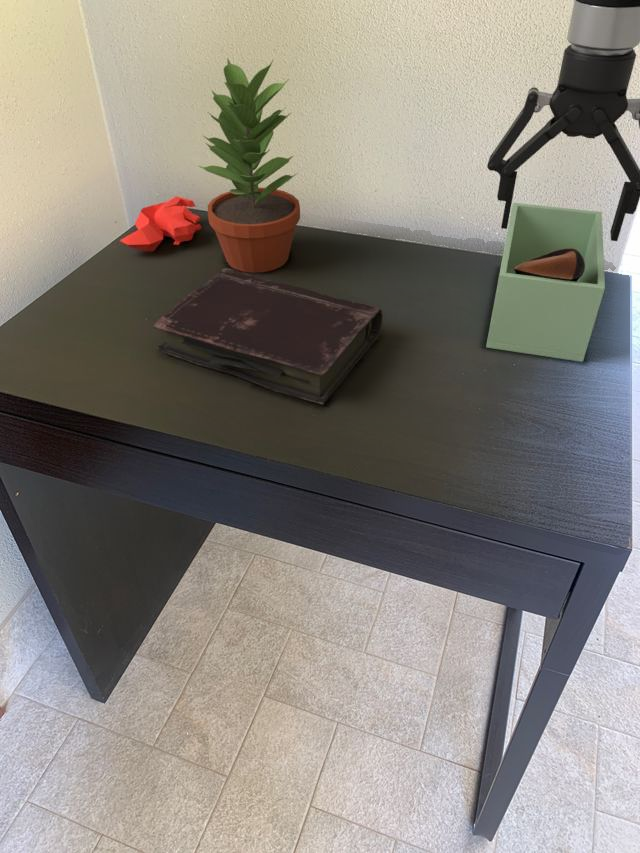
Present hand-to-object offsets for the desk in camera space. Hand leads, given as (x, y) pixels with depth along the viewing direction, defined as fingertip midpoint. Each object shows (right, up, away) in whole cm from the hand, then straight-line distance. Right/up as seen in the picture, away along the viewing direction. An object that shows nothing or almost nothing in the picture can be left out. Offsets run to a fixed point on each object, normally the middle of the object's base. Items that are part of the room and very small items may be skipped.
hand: (558, 230), depth 88 cm
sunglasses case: (0, -6, +4) cm, 8 cm away
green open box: (+1, -9, +11) cm, 14 cm away
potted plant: (-42, +2, +24) cm, 48 cm away
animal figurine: (-57, +6, +29) cm, 65 cm away
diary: (-38, -14, +5) cm, 41 cm away
